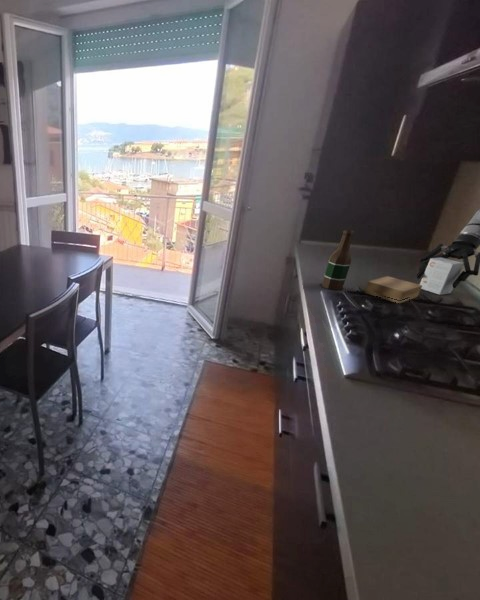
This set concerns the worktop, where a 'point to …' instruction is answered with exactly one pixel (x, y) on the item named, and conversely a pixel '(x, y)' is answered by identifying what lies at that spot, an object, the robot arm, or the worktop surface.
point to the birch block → (393, 289)
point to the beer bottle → (339, 264)
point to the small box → (441, 275)
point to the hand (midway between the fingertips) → (435, 281)
